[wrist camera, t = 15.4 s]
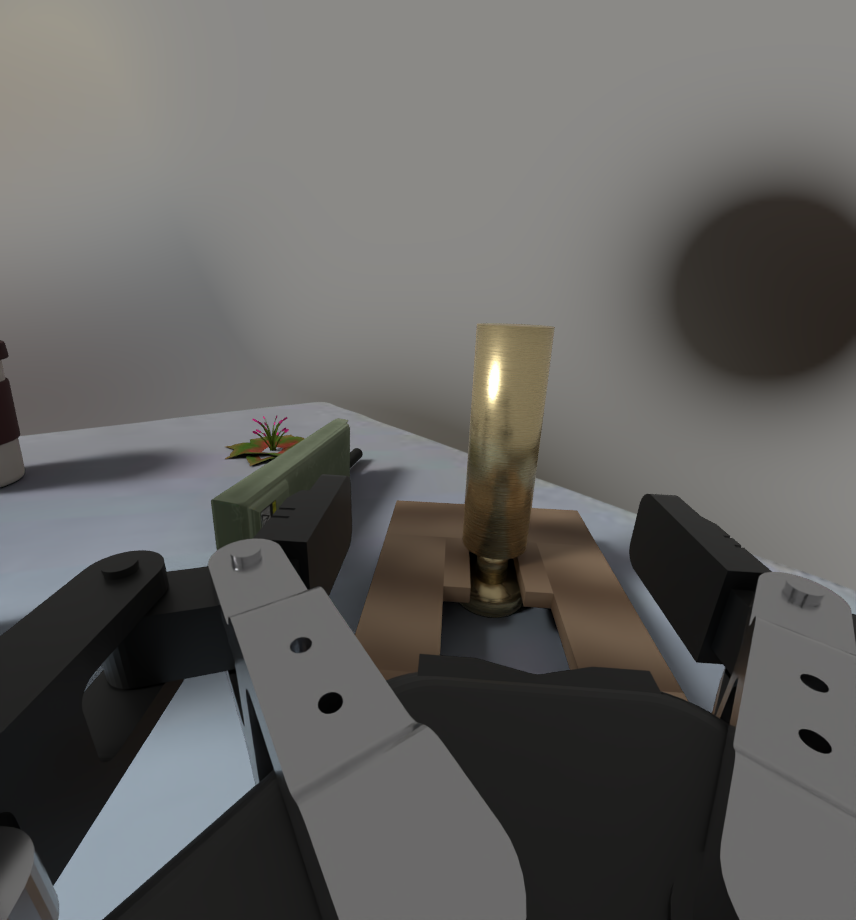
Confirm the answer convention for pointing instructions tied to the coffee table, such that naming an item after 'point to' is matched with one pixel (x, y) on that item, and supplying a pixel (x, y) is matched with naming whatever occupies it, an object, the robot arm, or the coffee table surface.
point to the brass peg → (503, 458)
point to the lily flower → (265, 444)
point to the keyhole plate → (540, 580)
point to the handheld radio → (281, 482)
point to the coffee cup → (8, 431)
